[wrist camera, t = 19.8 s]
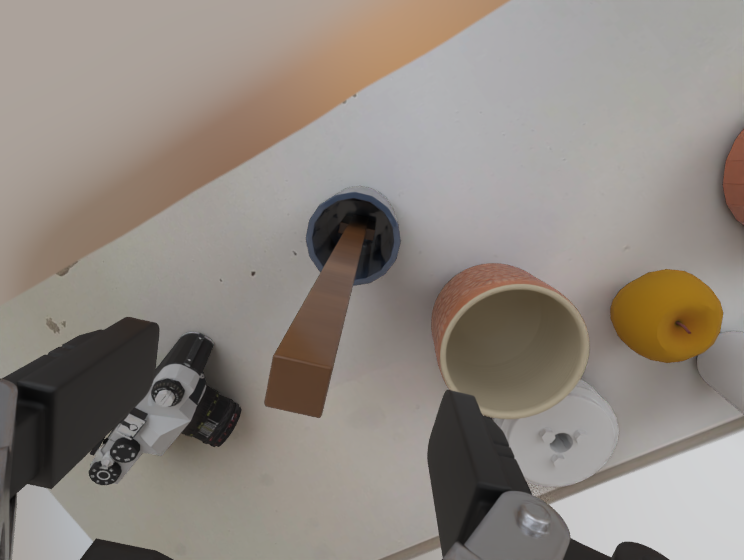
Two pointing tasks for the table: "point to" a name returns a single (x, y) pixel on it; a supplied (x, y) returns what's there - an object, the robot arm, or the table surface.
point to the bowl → (735, 179)
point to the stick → (318, 328)
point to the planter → (508, 340)
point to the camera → (168, 413)
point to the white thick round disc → (564, 439)
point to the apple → (667, 316)
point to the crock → (373, 253)
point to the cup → (725, 367)
